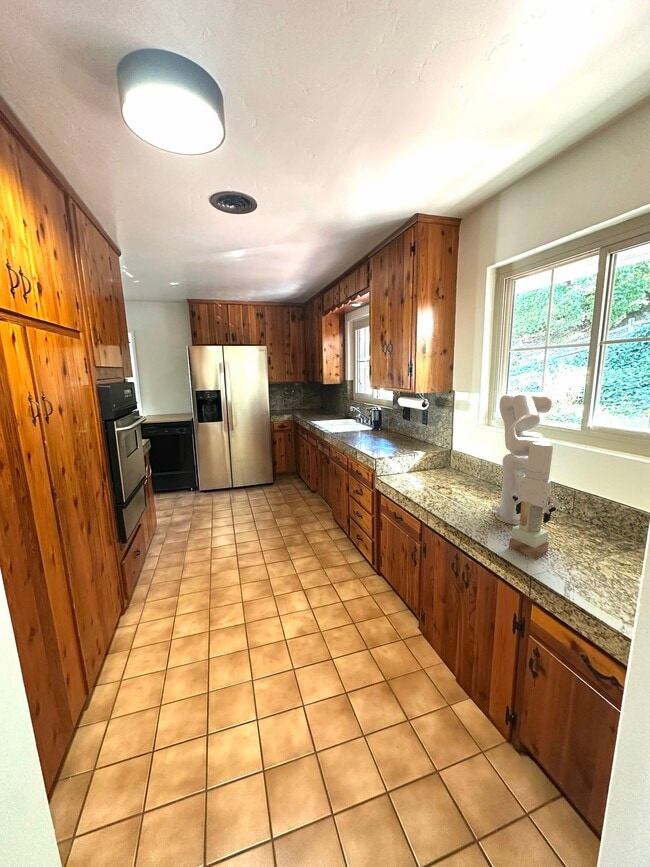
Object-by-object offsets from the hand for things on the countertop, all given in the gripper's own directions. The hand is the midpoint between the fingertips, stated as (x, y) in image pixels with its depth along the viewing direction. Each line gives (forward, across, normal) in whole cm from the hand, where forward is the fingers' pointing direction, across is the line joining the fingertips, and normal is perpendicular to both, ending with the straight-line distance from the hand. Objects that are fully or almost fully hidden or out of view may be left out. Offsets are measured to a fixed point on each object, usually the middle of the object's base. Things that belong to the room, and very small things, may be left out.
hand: (532, 517), depth 132 cm
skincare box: (+5, -1, 0) cm, 5 cm away
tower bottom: (+14, 0, 0) cm, 14 cm away
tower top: (+10, 0, +1) cm, 10 cm away
